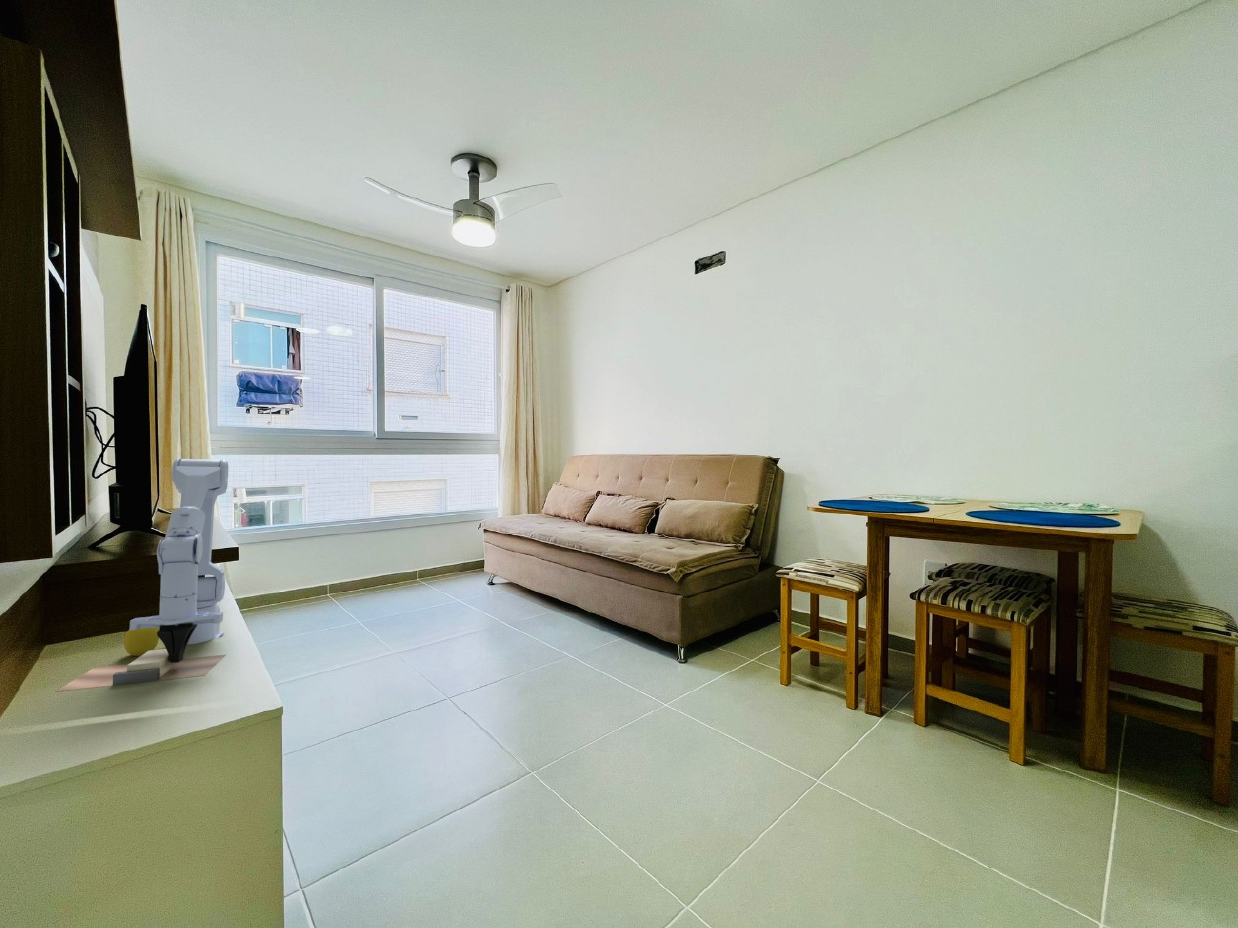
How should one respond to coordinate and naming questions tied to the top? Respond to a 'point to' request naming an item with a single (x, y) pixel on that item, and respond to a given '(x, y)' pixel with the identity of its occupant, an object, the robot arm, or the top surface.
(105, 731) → the top surface
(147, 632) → the lemon
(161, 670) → the block
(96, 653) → the top surface
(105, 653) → the top surface
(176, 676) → the board
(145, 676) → the channel
